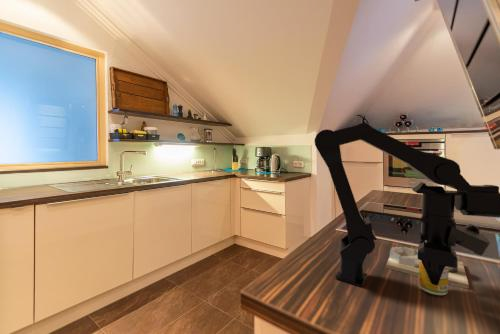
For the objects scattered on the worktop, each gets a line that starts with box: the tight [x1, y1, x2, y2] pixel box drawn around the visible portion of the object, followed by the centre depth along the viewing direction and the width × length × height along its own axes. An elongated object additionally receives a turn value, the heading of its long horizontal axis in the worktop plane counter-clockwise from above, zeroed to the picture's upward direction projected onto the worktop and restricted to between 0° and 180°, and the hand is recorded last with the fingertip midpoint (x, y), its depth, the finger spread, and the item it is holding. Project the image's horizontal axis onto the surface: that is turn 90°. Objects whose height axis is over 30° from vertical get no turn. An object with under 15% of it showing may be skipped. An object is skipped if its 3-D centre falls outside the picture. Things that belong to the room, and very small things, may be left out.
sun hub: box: [449, 258, 459, 273], centre depth 63 cm, size 5×5×3 cm
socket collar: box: [389, 246, 419, 267], centre depth 69 cm, size 9×9×2 cm
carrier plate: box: [385, 254, 470, 290], centre depth 66 cm, size 14×17×1 cm
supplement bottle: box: [418, 260, 449, 296], centre depth 55 cm, size 5×5×10 cm
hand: (434, 278), depth 55 cm, fingers closed on supplement bottle, 5 cm apart
